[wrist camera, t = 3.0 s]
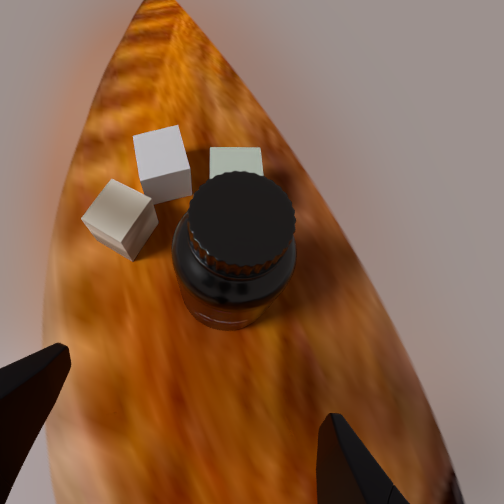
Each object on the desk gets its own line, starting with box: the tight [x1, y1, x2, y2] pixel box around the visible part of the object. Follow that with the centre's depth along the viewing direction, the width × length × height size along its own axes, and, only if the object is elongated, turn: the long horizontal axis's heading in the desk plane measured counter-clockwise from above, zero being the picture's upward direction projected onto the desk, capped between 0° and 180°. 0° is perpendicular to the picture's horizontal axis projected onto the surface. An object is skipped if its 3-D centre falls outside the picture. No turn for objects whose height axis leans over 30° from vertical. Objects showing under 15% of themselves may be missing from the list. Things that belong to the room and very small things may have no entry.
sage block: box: [210, 147, 263, 179], centre depth 26 cm, size 4×4×4 cm
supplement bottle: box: [172, 171, 297, 331], centre depth 19 cm, size 7×7×12 cm
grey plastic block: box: [133, 125, 192, 205], centre depth 26 cm, size 5×4×4 cm
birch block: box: [81, 179, 159, 262], centre depth 24 cm, size 4×4×4 cm
